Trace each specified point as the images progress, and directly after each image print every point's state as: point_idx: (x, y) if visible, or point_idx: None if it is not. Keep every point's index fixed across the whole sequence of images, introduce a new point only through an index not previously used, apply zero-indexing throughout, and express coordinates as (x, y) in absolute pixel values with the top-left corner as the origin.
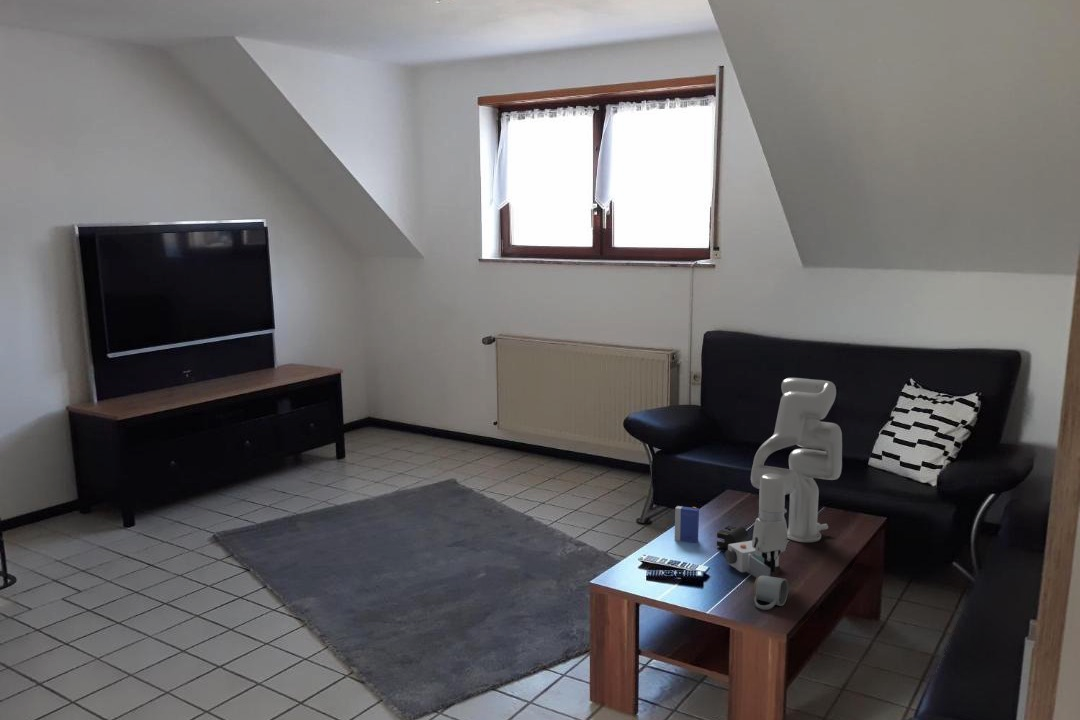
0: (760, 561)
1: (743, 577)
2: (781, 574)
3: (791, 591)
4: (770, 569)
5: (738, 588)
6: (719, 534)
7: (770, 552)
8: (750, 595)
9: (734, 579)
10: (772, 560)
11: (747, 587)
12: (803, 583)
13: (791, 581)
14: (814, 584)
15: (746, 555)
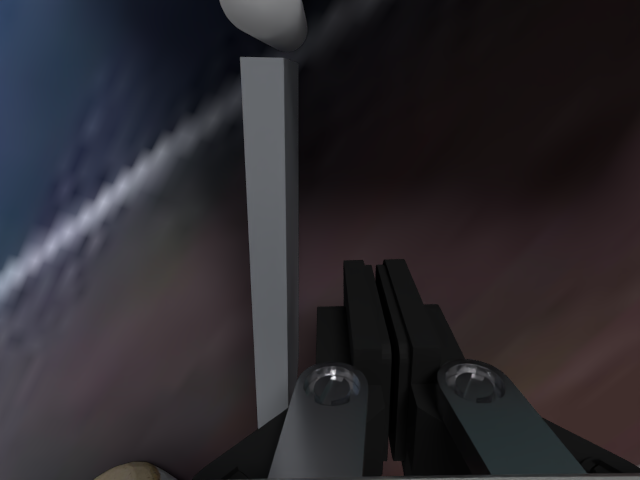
0: (286, 303)
1: (171, 112)
2: (566, 179)
3: None
4: None
5: (29, 300)
6: None
7: (469, 461)
8: (79, 417)
9: (59, 124)
10: (403, 451)
11: (113, 307)
12: (578, 380)
13: (526, 326)
14: (634, 415)
15: None
